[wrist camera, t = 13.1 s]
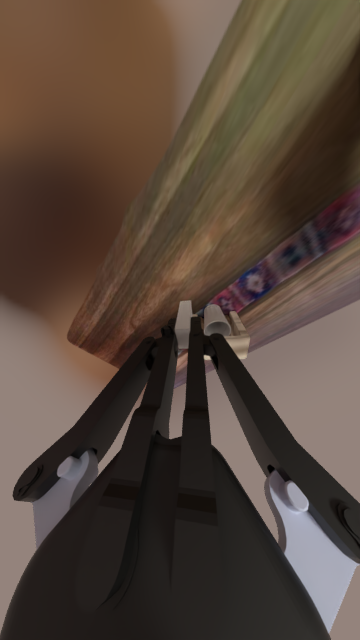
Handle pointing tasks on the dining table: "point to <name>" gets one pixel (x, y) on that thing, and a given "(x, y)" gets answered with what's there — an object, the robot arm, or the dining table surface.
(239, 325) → the shelf
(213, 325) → the cup
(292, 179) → the dining table surface
